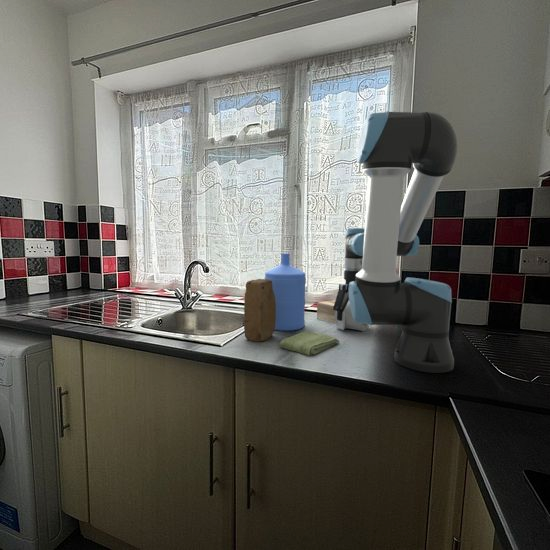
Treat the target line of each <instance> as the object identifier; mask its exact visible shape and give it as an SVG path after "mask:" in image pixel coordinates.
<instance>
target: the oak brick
mask: <svg viewBox="0 0 550 550" xmlns="http://www.w3.org/2000/svg"><path fill="white" fill-rule="evenodd" d="M335 300H336V299H335ZM335 300H326V301H325V300H324V301H319V302H317V303H316V319H319V318H320V319H319V320H322V319H323V320H322V321H326V322H329V323H333V324H336V323H335V310H333V307H334V304H335Z"/></svg>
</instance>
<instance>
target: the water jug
mask: <svg viewBox="0 0 550 550" xmlns="http://www.w3.org/2000/svg"><path fill="white" fill-rule="evenodd" d="M280 255H281V259H280V260H281V263H280V265H277V266H275V267H274V268H271V269H269V270H267V271H266V272H265V273H264V275H265V276H264V279H268V280H271V281H272V285H273V291H274V294H275V301H276V320H275V329H274V331H279V332H289V331H292V332H293V331H297V330H301V329H302V328H304V327H305V323H306V321H305V310H306V309H305V308H306V307H305V305H306V284H307V283H306V272H304V271H302V270H301V269H299V268H297V267H295V266H293V265H291V263H290V261H291V258H290V255H291V254H290V253H281V254H280Z"/></svg>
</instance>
